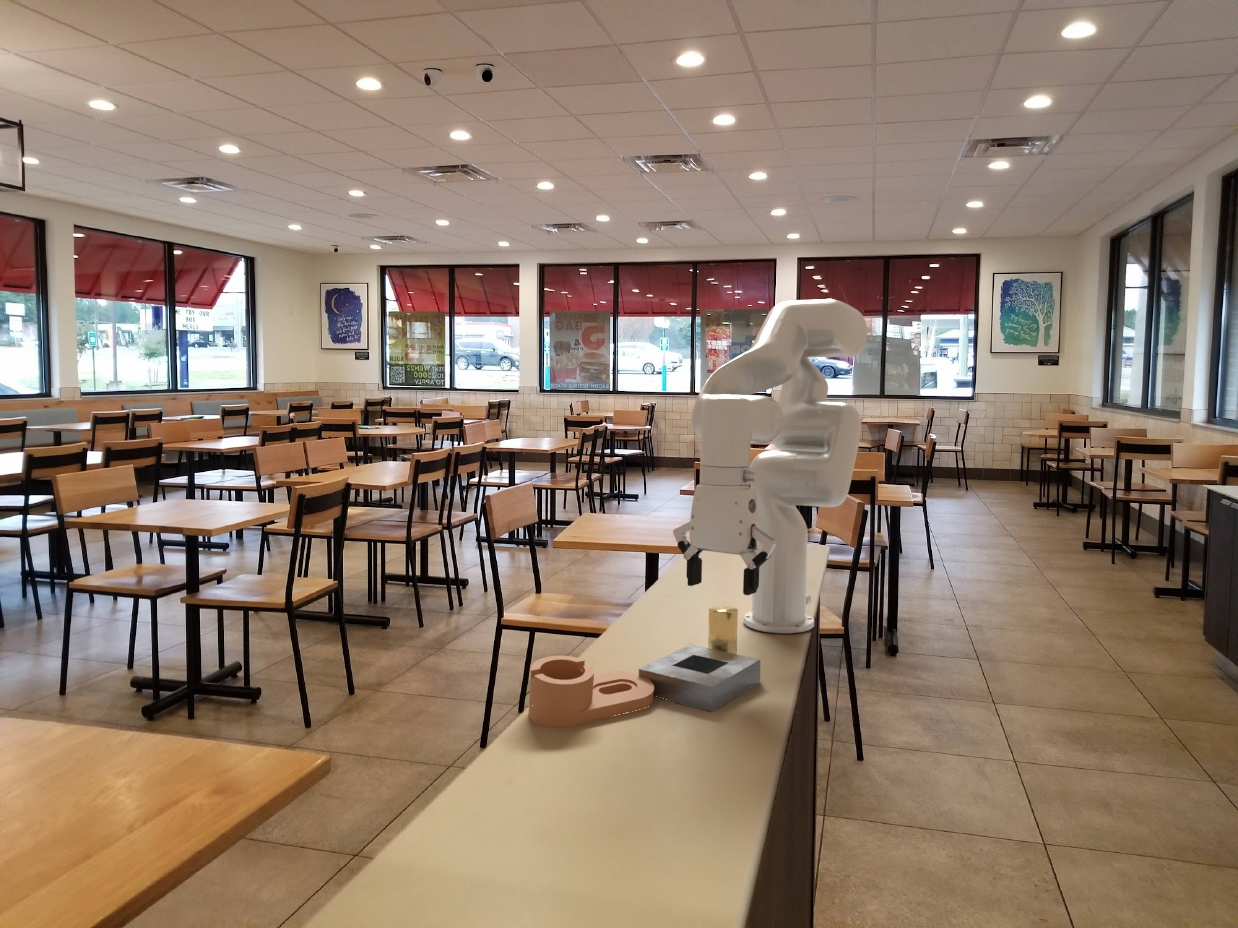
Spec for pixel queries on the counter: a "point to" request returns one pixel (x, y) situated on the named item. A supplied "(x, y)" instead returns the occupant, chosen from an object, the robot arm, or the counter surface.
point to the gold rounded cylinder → (723, 629)
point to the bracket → (582, 692)
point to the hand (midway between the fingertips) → (721, 588)
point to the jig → (702, 676)
